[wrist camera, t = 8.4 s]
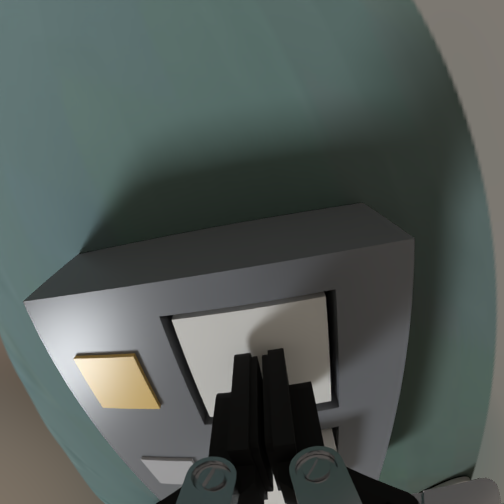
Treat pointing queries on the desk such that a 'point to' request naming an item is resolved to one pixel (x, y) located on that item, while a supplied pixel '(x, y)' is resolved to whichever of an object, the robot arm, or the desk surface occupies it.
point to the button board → (222, 296)
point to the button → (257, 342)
